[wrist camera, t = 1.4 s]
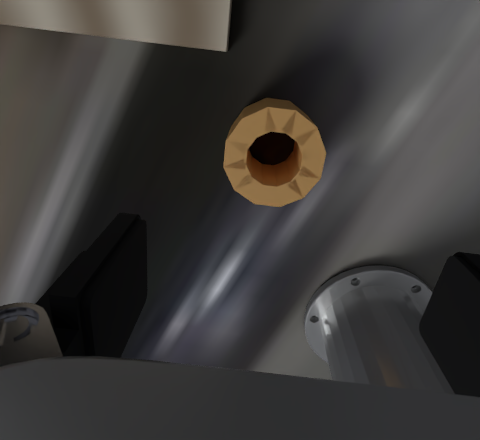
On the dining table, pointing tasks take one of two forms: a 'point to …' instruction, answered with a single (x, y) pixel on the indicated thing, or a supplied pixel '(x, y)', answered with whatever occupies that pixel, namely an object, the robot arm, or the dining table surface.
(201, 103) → the dining table surface
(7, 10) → the post base
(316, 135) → the collar
